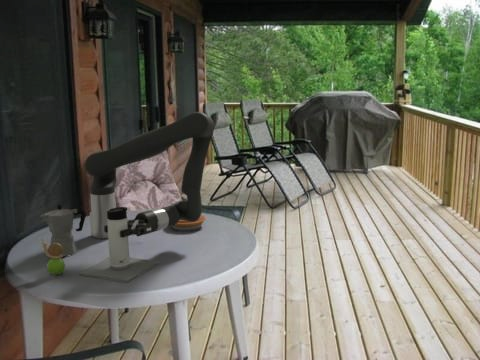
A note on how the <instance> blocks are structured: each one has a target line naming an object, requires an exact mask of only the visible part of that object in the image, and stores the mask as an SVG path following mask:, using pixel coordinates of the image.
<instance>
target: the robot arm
mask: <svg viewBox="0 0 480 360" xmlns="http://www.w3.org/2000/svg"><path fill="white" fill-rule="evenodd" d="M214 132H215V122H214V120H213V119H212V117H210V116H209V115H207V114H205V113H203V112H201V111H194V112H191V113H190V114H187V115H185V116H184V117H182V118H180V119H178V120H176V121H174V122H171V123H169V124H167V125H164V126H161V127H158V128H155V129H151V130H150V131H147V132H144V133H141V134H139V135H137V136H134V137H132V138H130V139H129V140H126V141H124V142H122V143H120V144H119V145H116V146H115V147H113V148H110V149H107V150H104V149H103V150H99V151H96V152H93V153H90V155H88V157H86V159H85V161H84V165H83V166H84V170H85V172H86V173H87V174H88V175H90V176H92V183H91V184H90V187H89V193H90V194H89V195H90V205H91V207H90V208H91V211H90V212H89V223H90V237H94V238H95V239H108V224H107V211H109V210H110V209H113V208H117V205H116V190H115V188H116V185H117V169H118V168H120V167H123V166H126V165H131V164H134V163H137V162H141V161H145V160H148V159H150V158H153V157H155V156H158V155H160V154H162V153H164V152H165V151H167V150H169V148H171V147H172V146H173V145H175V144H177V143H179V142H183V141H184V140H189V139H192V144H191V151H190V154H189V157H188V160H187V162H186V164H185V167H184V169H183V174H182V175H183V176H182V180H181V188H180V189H181V193H182V194H184V195H185V196H186V198H187V200H179V201H175V202H174V203H172V204H170V205H168V206H164V207H159V208H153V209H149V210H145V211H142V212H138V213H137V214H136V216H135V217H134V218H129V219H127V225H128V229H125V230H121V231H120V237H122V238H123V237H127V236H128V237H130V236H131V237H132V236H133V237H134V236H136V237H141V236H144V235H148V234H152V233H156V232H159V231H162V230H163V229H166V228H170V227H172V226H173V225H175V224H177V223H178V222H179V220H185V221H189V222H195V221H197V220H198V219H199V218H200V216H201V215H202V212H203V206H202V205H203V204H202V195H201V189H202V183H203V182H202V181H203V177H204V176H203V175H204V171H205V170H204V168H205V164H206V163H205V162H206V159H207V155H208V152H209V148H210V147H209V146H210V144H211V140H212V138H213V135H214Z"/></svg>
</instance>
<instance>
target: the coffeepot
mask: <svg viewBox="0 0 480 360" xmlns="http://www.w3.org/2000/svg"><path fill="white" fill-rule="evenodd" d="M56 206H57V209H55V210H54V209H53V210H49V211H48V212H45V213H43V214H41V215H40V216H39V217H40V218H41V219H43V221H44V222H45V223H46V224H47V225H48V228H49V232H50V233H51V237H50V245H51V244H52V243H58V244H60V245H61V246H62V248H63V251H62V253H61V254H63V256H68V255H71V256H73V255H72V254H74V255H75V254H76V253H77V252H78V251H77V247H76V242H75V239H74V236H73V233H72V231H73V228H74V227H73V225H74V216H75V215H79V214H80V220H79V224H78V225H79V226H78V228H75V231H76V232H81V231H82V230H83V228H84V224H85V220H86V218H87V217H86V216H87V212H86V211H85V210H84V209H83V208H74V209H69V208H67V209H66V208H63V204H61V203H59V204H57V205H56ZM75 252H76V253H75ZM61 254H60V255H61ZM68 257H69V256H68Z"/></svg>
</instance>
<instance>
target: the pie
mask: <svg viewBox="0 0 480 360" xmlns="http://www.w3.org/2000/svg"><path fill="white" fill-rule="evenodd" d="M205 220H206V217H205V215H202V214H201V216H200V218H199V219H198V220H197V221H195V222H189V221H185V220H179V222H178V223H177V224H175V225H173V226H171V227H172V228H173V230H175V231H179V232H180V231H181V232H188V231H190V232H191V231H194V230H195V231H196V230H199V228H201V227H202V225H203V223H204V222H205Z"/></svg>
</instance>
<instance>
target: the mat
mask: <svg viewBox="0 0 480 360" xmlns="http://www.w3.org/2000/svg"><path fill="white" fill-rule="evenodd" d="M129 260H130V261H129V262H130V266H129V267H128V268H127V269H124V270H113V269H111V268H110V256H109V257H108V256H107V257H106V258H104V259H103V260H101V261H99V262H97V263H95V264H93V265H92V266H90V267H88V268H86V269H85V270H82V271H81V272H79V276H85V277H91V278H97V279H103V280H110V281H115V282H116V281H117V282H124V283H130V282H131V281H133V280H134V279H136V278H137V277H138V276H140V275H142V274H143V273H145V272H147V271H148V270H149V269H151V268H152V267H154V266H155V265H157V264H159V263H158V262H159V261H158V260H152V259H143V258H138V257H130V256H129Z"/></svg>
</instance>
